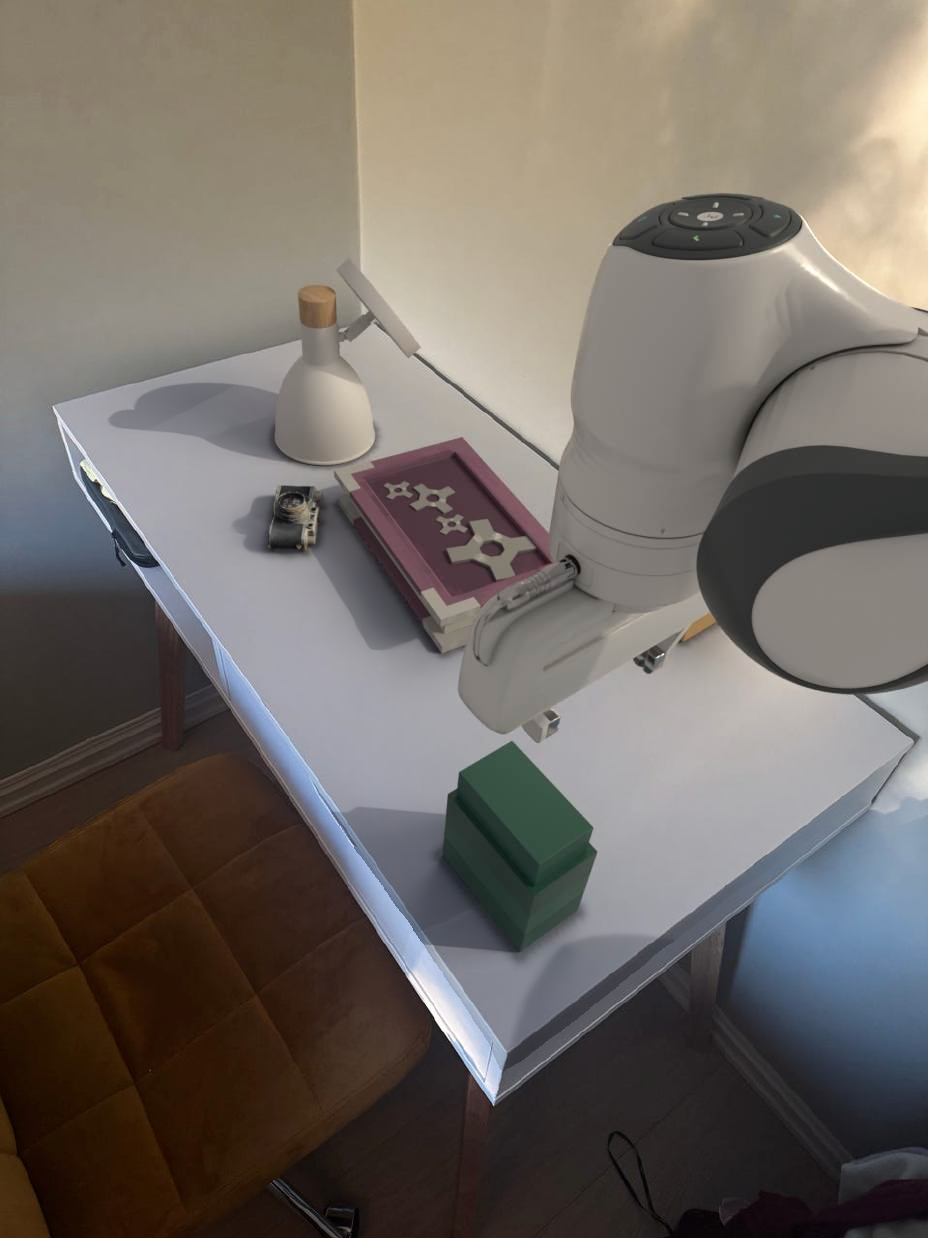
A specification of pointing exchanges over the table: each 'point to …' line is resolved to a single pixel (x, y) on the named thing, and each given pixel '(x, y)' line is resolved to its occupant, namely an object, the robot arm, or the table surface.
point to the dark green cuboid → (523, 812)
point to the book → (443, 532)
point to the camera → (294, 517)
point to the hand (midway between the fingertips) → (595, 696)
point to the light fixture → (332, 377)
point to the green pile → (511, 879)
